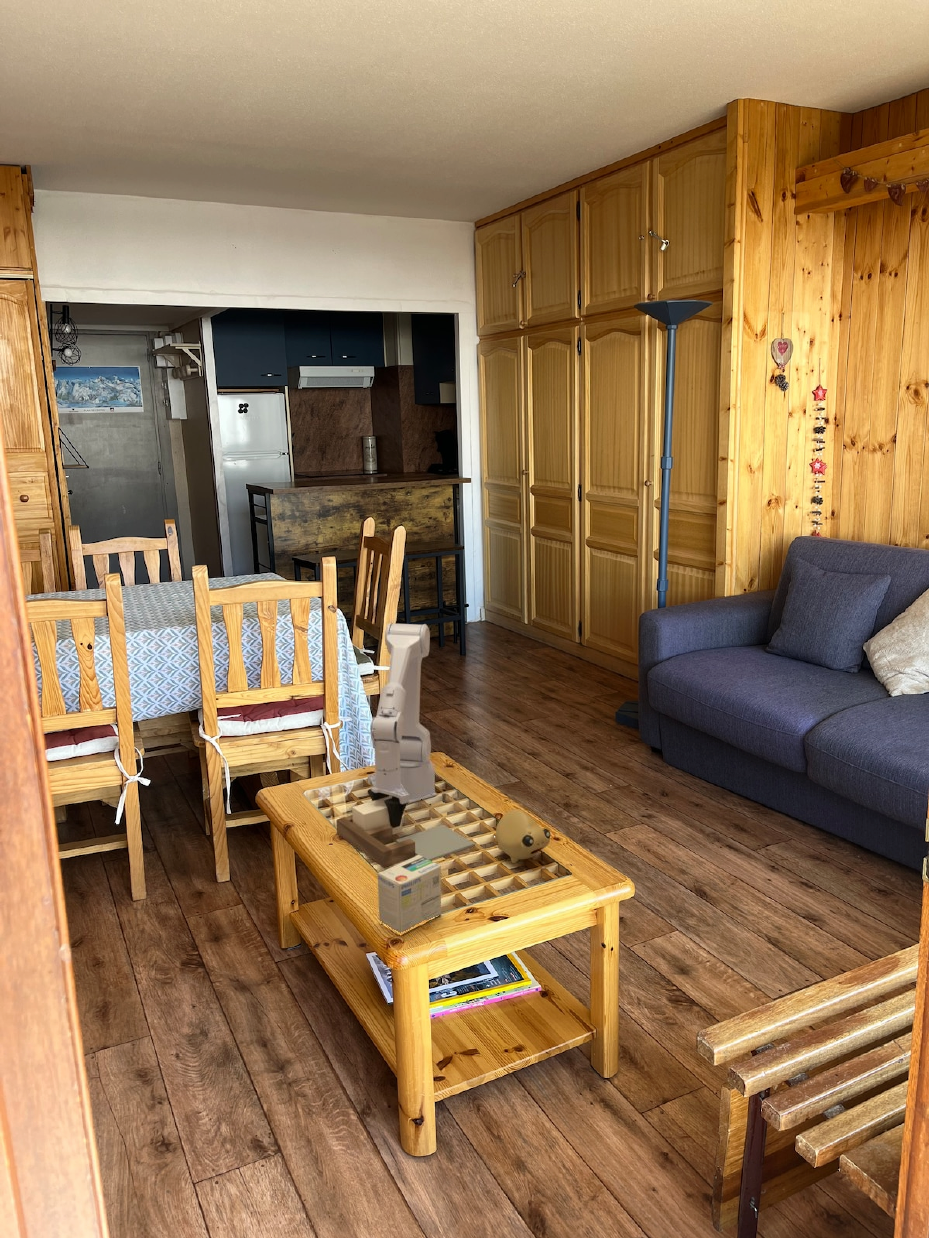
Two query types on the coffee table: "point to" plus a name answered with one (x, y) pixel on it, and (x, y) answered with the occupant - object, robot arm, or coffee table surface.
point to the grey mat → (438, 842)
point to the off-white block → (373, 815)
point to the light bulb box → (409, 893)
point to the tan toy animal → (520, 835)
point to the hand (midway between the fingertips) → (388, 822)
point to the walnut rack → (376, 842)
